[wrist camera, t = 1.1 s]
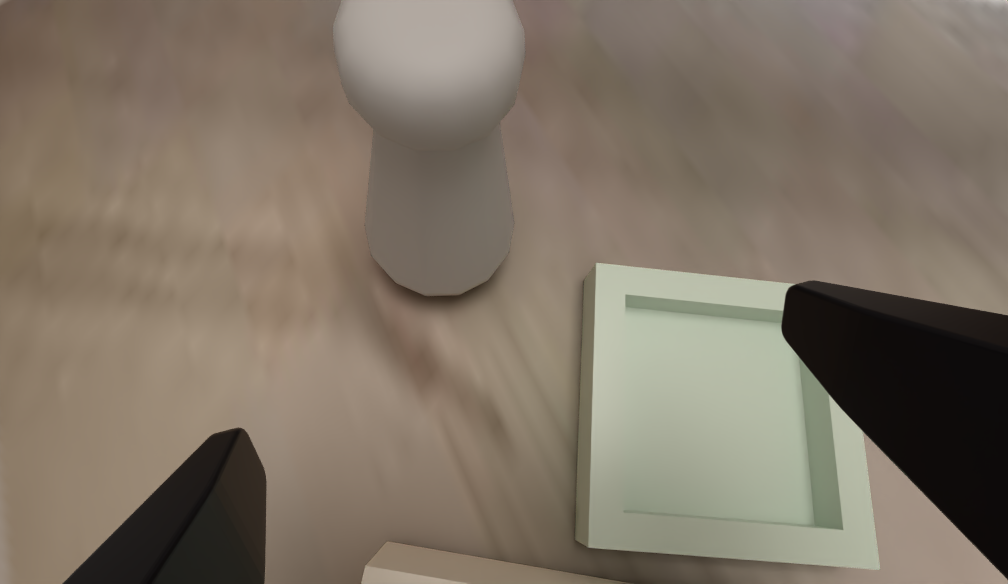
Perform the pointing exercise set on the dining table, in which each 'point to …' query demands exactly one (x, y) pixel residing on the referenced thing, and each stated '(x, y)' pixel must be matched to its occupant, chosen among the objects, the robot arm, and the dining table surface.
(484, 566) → the gate
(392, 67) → the salt shaker
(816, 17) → the dining table surface
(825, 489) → the tray
